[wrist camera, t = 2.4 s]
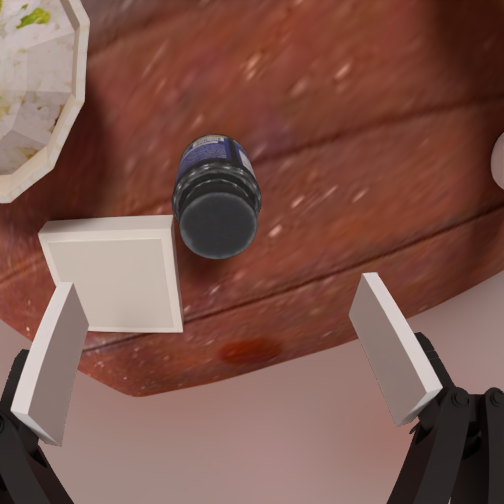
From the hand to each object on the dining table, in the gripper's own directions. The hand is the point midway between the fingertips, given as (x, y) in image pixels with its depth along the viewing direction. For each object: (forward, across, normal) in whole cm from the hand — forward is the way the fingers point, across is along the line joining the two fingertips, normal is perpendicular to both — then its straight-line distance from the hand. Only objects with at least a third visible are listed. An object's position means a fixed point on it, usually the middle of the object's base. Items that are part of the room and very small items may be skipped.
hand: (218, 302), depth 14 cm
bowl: (+17, -17, +11) cm, 27 cm away
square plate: (+17, -11, -12) cm, 23 cm away
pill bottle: (+17, 0, 0) cm, 17 cm away
